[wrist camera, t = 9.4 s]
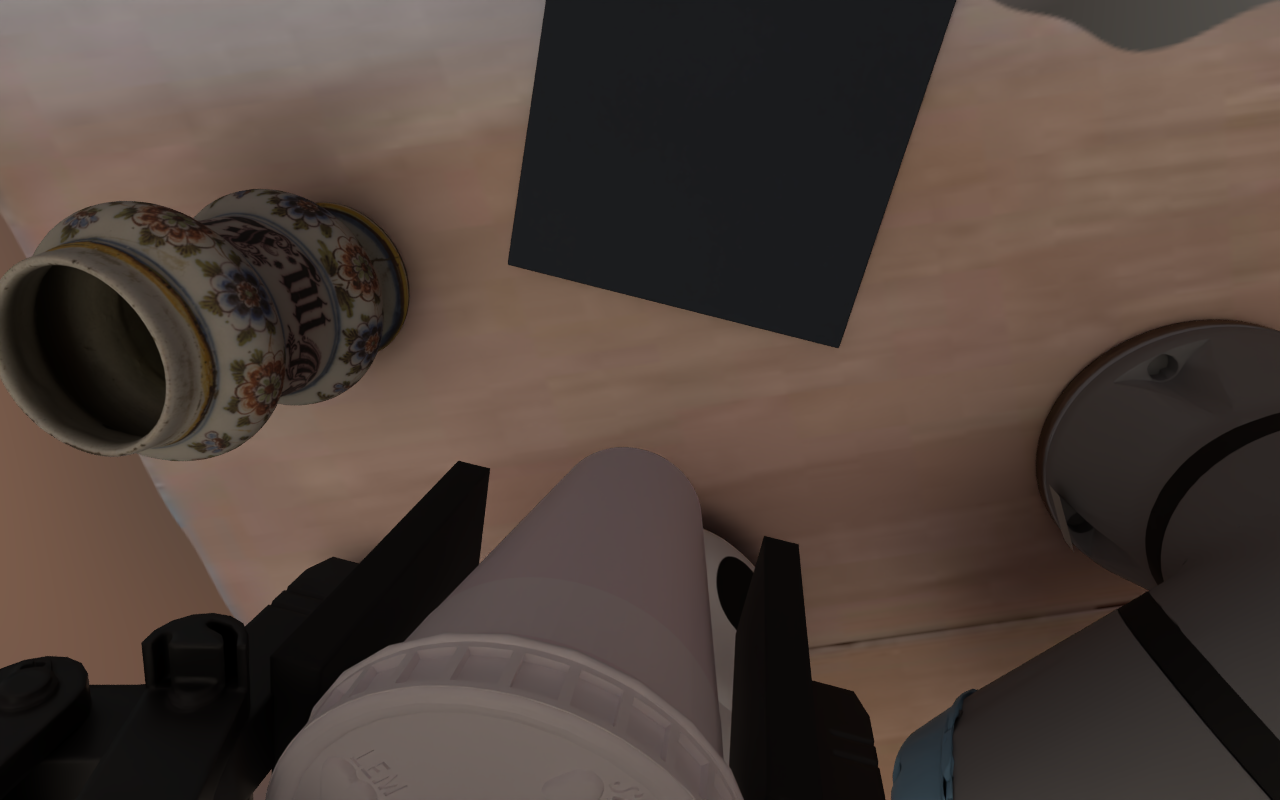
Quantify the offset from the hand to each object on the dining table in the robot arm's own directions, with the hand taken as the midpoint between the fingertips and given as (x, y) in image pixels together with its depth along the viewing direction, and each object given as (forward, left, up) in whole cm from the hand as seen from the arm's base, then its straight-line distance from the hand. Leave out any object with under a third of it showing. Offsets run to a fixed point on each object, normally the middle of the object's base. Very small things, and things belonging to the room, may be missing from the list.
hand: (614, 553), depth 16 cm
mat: (+2, -11, -27) cm, 29 cm away
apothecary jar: (+23, +4, -27) cm, 36 cm away
